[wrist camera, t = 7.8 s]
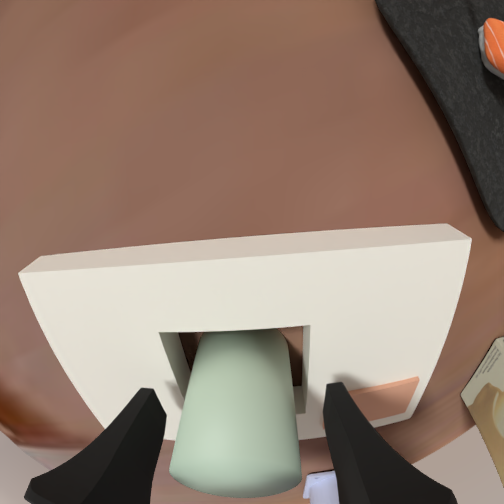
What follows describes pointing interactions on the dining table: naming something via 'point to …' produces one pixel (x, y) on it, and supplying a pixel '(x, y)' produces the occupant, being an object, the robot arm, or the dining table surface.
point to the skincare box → (489, 402)
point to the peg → (239, 417)
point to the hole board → (257, 313)
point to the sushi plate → (462, 78)
